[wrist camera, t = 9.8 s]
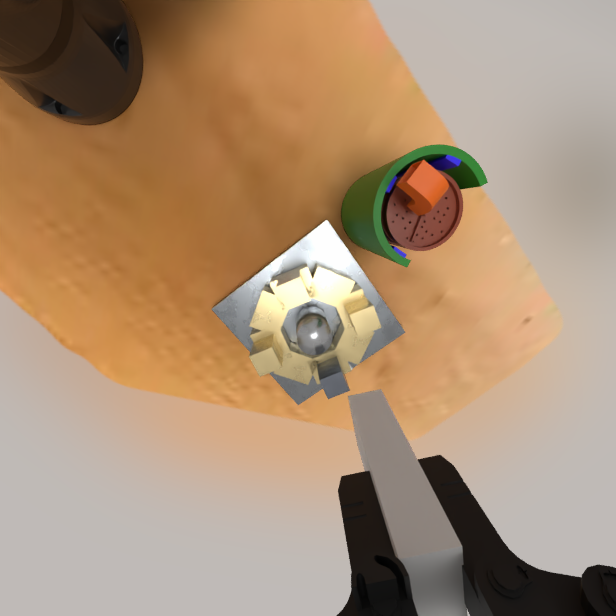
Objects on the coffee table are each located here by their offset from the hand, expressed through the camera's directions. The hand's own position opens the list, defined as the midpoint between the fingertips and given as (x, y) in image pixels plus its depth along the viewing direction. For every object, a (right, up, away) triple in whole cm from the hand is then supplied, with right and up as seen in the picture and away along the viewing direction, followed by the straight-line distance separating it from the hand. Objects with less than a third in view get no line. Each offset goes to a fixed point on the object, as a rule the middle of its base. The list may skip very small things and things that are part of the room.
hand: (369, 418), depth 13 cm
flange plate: (-2, +4, +31) cm, 31 cm away
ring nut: (-2, +3, +29) cm, 29 cm away
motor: (+6, +18, +27) cm, 33 cm away
